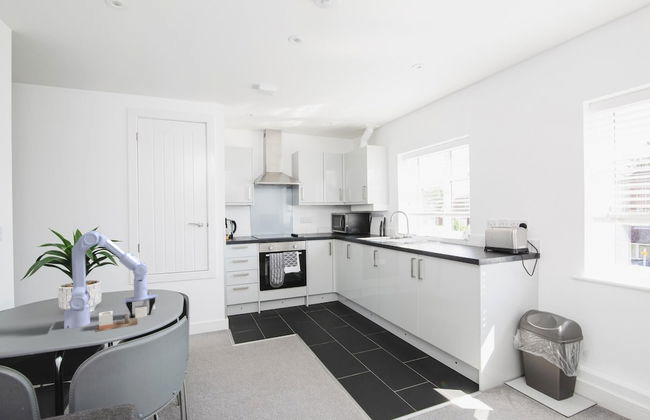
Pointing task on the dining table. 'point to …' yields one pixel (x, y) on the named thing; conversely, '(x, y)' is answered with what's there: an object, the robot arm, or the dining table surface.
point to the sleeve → (140, 311)
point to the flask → (148, 301)
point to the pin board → (120, 324)
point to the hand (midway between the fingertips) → (141, 315)
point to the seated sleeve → (105, 320)
